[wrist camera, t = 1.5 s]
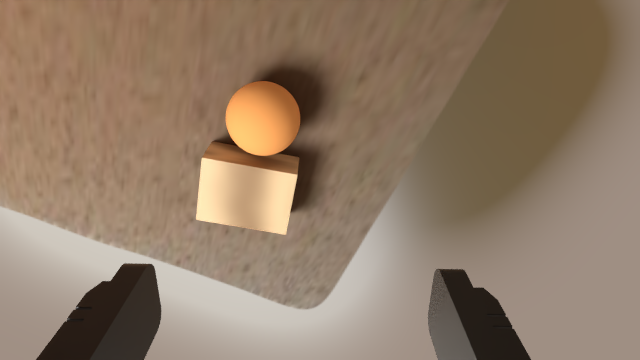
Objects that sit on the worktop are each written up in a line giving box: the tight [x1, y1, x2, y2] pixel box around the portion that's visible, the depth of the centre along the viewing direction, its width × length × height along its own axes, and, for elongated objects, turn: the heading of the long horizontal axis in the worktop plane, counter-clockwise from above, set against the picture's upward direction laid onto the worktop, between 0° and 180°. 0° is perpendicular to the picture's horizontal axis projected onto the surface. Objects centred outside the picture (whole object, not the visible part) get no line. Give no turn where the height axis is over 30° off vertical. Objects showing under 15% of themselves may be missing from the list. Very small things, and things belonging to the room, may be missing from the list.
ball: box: [226, 81, 300, 156], centre depth 36 cm, size 6×6×6 cm
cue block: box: [196, 141, 299, 235], centre depth 40 cm, size 8×6×4 cm
